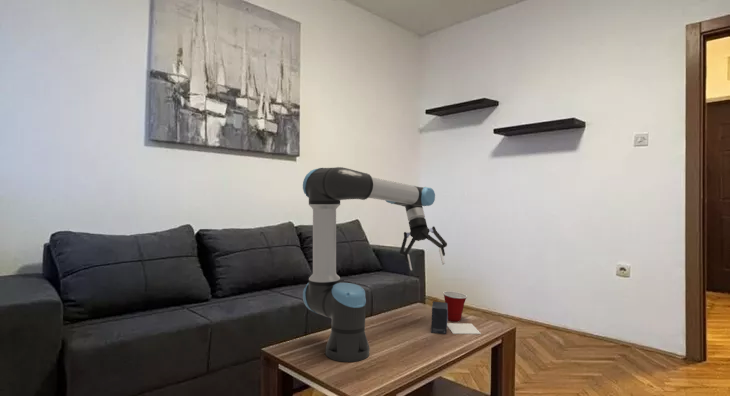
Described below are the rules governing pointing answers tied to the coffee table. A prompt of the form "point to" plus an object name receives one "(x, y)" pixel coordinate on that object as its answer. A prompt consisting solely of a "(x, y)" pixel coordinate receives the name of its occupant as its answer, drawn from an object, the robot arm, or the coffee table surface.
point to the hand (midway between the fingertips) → (427, 266)
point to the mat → (462, 328)
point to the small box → (439, 317)
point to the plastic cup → (454, 304)
